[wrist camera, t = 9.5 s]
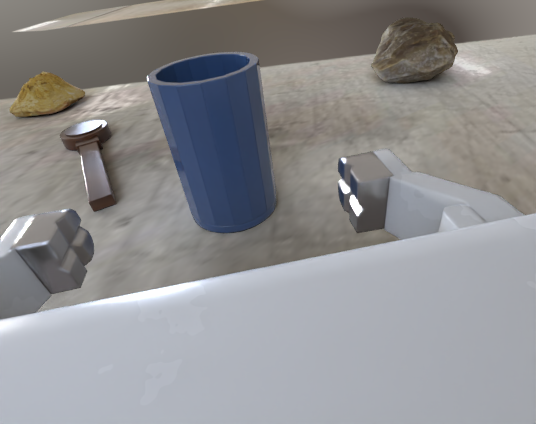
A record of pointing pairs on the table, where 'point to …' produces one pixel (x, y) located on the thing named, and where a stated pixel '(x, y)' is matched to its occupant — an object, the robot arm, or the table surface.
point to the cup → (218, 137)
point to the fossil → (45, 96)
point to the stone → (414, 51)
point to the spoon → (92, 159)
